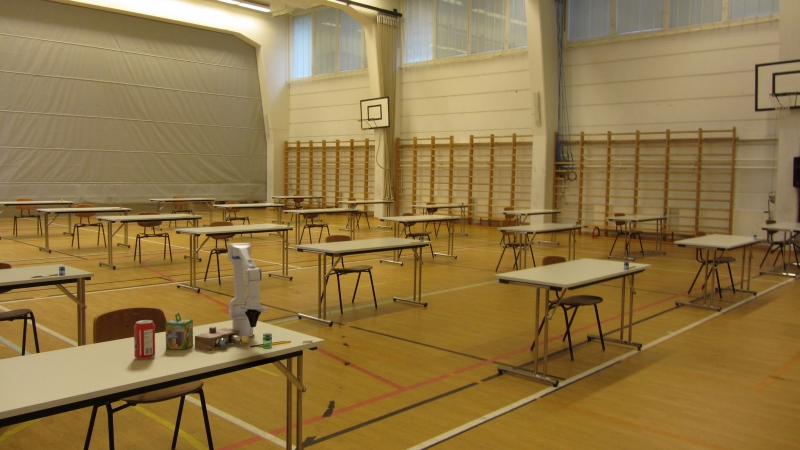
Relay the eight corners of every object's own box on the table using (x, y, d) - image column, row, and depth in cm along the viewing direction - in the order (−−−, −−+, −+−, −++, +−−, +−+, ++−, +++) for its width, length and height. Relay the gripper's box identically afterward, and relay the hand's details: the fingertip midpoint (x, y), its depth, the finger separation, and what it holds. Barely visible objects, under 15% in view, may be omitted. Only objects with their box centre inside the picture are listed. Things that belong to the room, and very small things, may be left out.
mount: (224, 339, 280) (224, 327, 280) (239, 341, 276) (239, 330, 276) (194, 348, 265) (194, 335, 264) (210, 350, 260) (210, 338, 260)
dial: (212, 331, 274) (212, 326, 273) (217, 331, 272) (217, 327, 272) (207, 332, 271) (207, 327, 271) (212, 333, 269) (212, 328, 269)
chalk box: (186, 350, 261) (185, 315, 261) (165, 349, 262) (164, 315, 261) (194, 344, 271) (193, 311, 270) (173, 344, 271) (173, 311, 270)
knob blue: (209, 343, 270) (209, 334, 270) (227, 346, 265) (227, 337, 265) (202, 345, 267) (202, 336, 266) (221, 348, 261) (221, 339, 261)
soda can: (147, 360, 244) (147, 324, 243) (130, 359, 246) (129, 322, 245) (159, 355, 252) (158, 319, 251) (142, 354, 253) (141, 318, 253)
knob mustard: (230, 340, 275) (230, 332, 274) (249, 343, 269) (249, 335, 269) (224, 342, 271) (224, 334, 271) (243, 345, 266) (243, 337, 266)
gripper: (234, 295, 264) (234, 326, 265) (259, 298, 257) (259, 330, 258) (245, 293, 270) (245, 323, 271) (270, 296, 263) (270, 327, 264)
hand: (253, 326), depth 265 cm, fingers closed
